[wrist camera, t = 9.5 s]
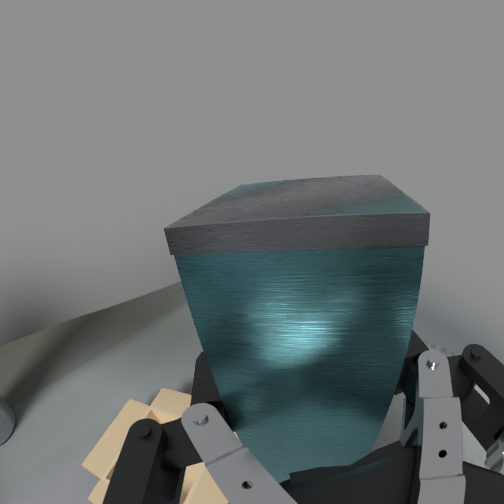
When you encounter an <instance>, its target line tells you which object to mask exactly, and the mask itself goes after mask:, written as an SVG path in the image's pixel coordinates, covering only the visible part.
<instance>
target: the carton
mask: <svg viewBox="0 0 504 504" xmlns="http://www.w3.org/2000/svg"><path fill="white" fill-rule="evenodd" d="M190 404H191V395H190V394H185V393H181V392H177V391H173V390H170V389H166V388H162V389H161V390H160V392H159V393H158V395H157V396H156V398H155V399H154V401H153V402H152V404H151V405H150V406H148V405H145V404H143V403H140V402H137V401H134V400H132V399H129V401H128V402H127V403H126V405H125V406H124V407H123V409H122V410H121V412H120V413H119V414H118V416H117V417H116V418H115V420H114V421H113V422H112V424H111V425H110V426H109V428H108V429H107V431H106V432H105V433H104V435H103V436H102V437H101V439H100V440H99V441H98V443H97V444H96V446H95V447H94V448H93V450H92V451H91V452H90V454H89V455H88V457H87V458H86V459H85V461H84V462H83V464H82V466H83V467H84V468H86V469H87V470H88V471H90V472H91V473H93V474H94V475H96V476H97V477H99V478H100V481H99V482H98V484H97V485H96V487H95V488H94V489H93V491H92V492H91V494H90V495H89V497H88V498H87V499H88V500H90V501H91V502H92V503H94V504H102V503H103V500H104V497H105V494H106V491H107V488H108V485H109V482H110V479H111V476H112V474H113V471H114V468H115V465H116V462H117V460H118V457H119V454H120V452H121V449H122V446H123V444H124V441H125V438H126V436H127V433H128V430H129V428H130V427H131V425H132V424H133V423H135V422H136V421H138V420H140V419H144V418H150V419H153V420H155V421H157V422H158V423H159V424H163V423H166V422H170V421H173V420H176V419H178V418H180V417H182V414H183V413H184V411H185V410H186V409H187V408H189V407H190ZM233 433H234V434H235V435H236V437H237V438H238V436H237V434H236V432H233ZM238 439H239V438H238ZM179 504H229V501H228V500H227V499H226V497H225V496H224V494H223V493H222V492H221V490H220V489H219V487H218V486H217V484H216V483H215V481H214V480H213V478H212V477H211V475H210V474H209V472H208V470H207V469H206V467H205V464H204V462H201V463H198V464H194V465H191V466H187V467H186V472H185V477H184V482H183V487H182V492H181V497H180V502H179Z"/></svg>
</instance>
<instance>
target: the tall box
mask: <svg viewBox="0 0 504 504" xmlns="http://www.w3.org/2000/svg"><path fill="white" fill-rule="evenodd" d="M429 223H430V213H429V212H428V211H427V210H426V209H425V208H423V207H422V206H421V205H420V204H419V203H417V202H416V201H415V200H413V199H412V198H411V197H410V196H408V195H407V194H406V193H405V192H403V191H402V190H401V189H399V188H398V187H397V186H395V185H394V184H393V183H391V182H390V181H388V180H387V179H386V178H384V177H383V176H381V175H358V176H338V177H321V178H308V179H296V180H284V181H273V182H264V183H255V184H246V185H240V186H238V187H236V188H234V189H233V190H231V191H229V192H227V193H225V194H223V195H222V196H220V197H218V198H216V199H214V200H212V201H210V202H209V203H207V204H205V205H203V206H201V207H200V208H198V209H196V210H195V211H193V212H191V213H189V214H187V215H186V216H184V217H183V218H181V219H179V220H177V221H176V222H174V223H172V224H170V225H169V226H167V227H165V228H164V231H165V235H166V239H167V243H168V246H169V251H170V254H171V255H174V256H175V260H176V264H177V268H178V271H179V275H180V278H181V282H182V285H183V289H184V292H185V295H186V299H187V302H188V305H189V308H190V311H191V315H192V318H193V321H194V324H195V327H196V330H197V333H198V336H199V339H200V342H201V345H202V347H203V350H204V353H205V356H206V359H207V362H208V364H209V367H210V370H211V372H212V375H213V378H214V380H215V383H216V386H217V388H218V391H219V393H220V396H221V398H222V401H223V403H224V406H225V408H226V411H227V413H228V415H229V418H230V420H231V422H232V425H233V427H234V429H235V432H236V434H237V436H238V438H239V441H240V442H241V443H242V444H243V445H244V446H246V447H247V448H248V449H249V450H250V451H251V452H252V454H253V455H254V456H255V457H256V459H257V460H258V461H259V462H260V463H261V464H262V466H263V467H264V468H265V469H266V470H267V471H268V473H269V474H270V475H271V476H272V477H273V478H274V479H275V480H276V481H277V483H278V484H279V483H281V482H283V481H285V480H288V479H290V475H289V473H292V472H297V471H302V470H307V469H312V468H316V467H331V466H346V465H351V464H353V463H355V462H356V461H358V460H360V459H361V458H363V457H365V456H366V455H368V454H370V451H371V449H372V447H373V445H374V443H375V441H376V438H377V436H378V434H379V431H380V429H381V427H382V424H383V422H384V419H385V417H386V414H387V412H388V409H389V406H390V404H391V401H392V398H393V395H394V392H395V389H396V386H397V383H398V380H399V377H400V374H401V370H402V367H403V363H404V360H405V356H406V352H407V349H408V345H409V341H410V336H411V332H412V327H413V322H414V318H415V313H416V308H417V302H418V296H419V290H420V283H421V276H422V268H423V259H424V248H425V246H428V239H429Z"/></svg>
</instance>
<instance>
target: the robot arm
mask: <svg viewBox="0 0 504 504" xmlns="http://www.w3.org/2000/svg"><path fill="white" fill-rule="evenodd" d="M476 384H477V385H478V387H479V388H480V389H481V390H482V391H483V392H484V393H485V394H486V395H487V396H488V398H489V400H490V404H488V403H487V402H486V400H485V399H484V398H483V397H482V396H481V395H480V394H479V393H478V392H477V391H476V390H475V389H474V387H475V385H476ZM402 392H404V394H405V398H404V403H403V417H402V428H401V435H400V439H399V441H397V442H394V443H392V444H389V445H387V446H384V447H382V448H379V449H377V450H374V451H373V452H371V453H370V454H368V455H366V456H365V457H363V458H361V459H360V460H358V461H356V462H355V463H353V464H351V465H346V466H331V467H316V468H312V469H307V470H302V471H297V472H292V473H289V475H290V479H288V480H285V481H283V482H281V483H279V484H278V483H277V481H276V480H275V479H274V478H273V477H272V476H271V475H270V474H269V473H268V471H267V470H266V469H265V468H264V467H263V466H262V464H261V463H260V462H259V461H258V460H257V459H256V457H255V456H254V455H253V454H252V452H251V451H250V450H249V449H248V448H247V447H246V446H244V445H243V444H242V443H241V442H240V441H239V439H238V438H237V437H236V435H235V434H234V433H233V432H235V429H234V427H233V425H232V422H231V420H230V418H229V415H228V413H227V411H226V408H225V406H224V403H223V401H222V398H221V396H220V393H219V391H218V388H217V386H216V383H215V380H214V378H213V375H212V372H211V370H210V367H209V364H208V362H207V359H206V356H205V353H204V352H201V354H200V355H199V357H198V358H197V360H196V364H195V372H194V379H193V387H192V395H191V404H190V407H189V408H187V409H186V410H185V411H184V413H183V414H182V417H180V418H178V419H176V420H173V421H170V422H166V423H163V424H159V423H158V422H157V421H155V420H153V419H150V418H144V419H140V420H138V421H136V422H135V423H133V424H132V425H131V427H130V428H129V430H128V433H127V436H126V438H125V441H124V444H123V446H122V449H121V452H120V454H119V457H118V460H117V462H116V465H115V468H114V471H113V474H112V476H111V479H110V482H109V485H108V488H107V491H106V494H105V497H104V500H103V503H102V504H179V502H180V497H181V492H182V487H183V482H184V477H185V472H186V467H187V466H191V465H194V464H198V463H201V462H204V464H205V467H206V469H207V470H208V472H209V474H210V475H211V477H212V478H213V480H214V481H215V483H216V484H217V486H218V487H219V489H220V490H221V492H222V493H223V494H224V496H225V497H226V499H227V500H228V501H229V503H230V504H504V365H503V364H502V363H501V362H500V361H498V360H497V359H496V358H495V357H494V356H493V355H492V354H491V353H489V352H488V351H487V350H486V349H485V348H484V347H482V346H480V345H477V344H471V345H468V346H466V347H465V348H464V350H463V353H462V355H458V356H451V357H446V356H445V355H444V354H443V353H442V352H440V351H437V350H429V349H428V347H427V346H426V345H425V344H424V343H423V341H422V340H421V339H420V338H419V337H418V335H417V334H416V333H415V332H413V330H412V332H411V336H410V341H409V345H408V349H407V352H406V356H405V360H404V363H403V367H402V370H401V374H400V377H399V380H398V383H397V386H396V389H395V392H394V394H395V395H397V394H399V393H402ZM462 421H463V423H464V424H465V425H466V426H467V428H468V429H469V430H470V431H471V433H472V434H473V435H474V436H475V438H476V439H477V440H478V441H479V443H480V444H481V445H482V447H483V448H484V449H485V451H486V452H487V454H486V460H485V466H486V467H487V468H490V469H486V468H483V467H480V466H477V465H473V464H470V463H467V462H465V461H462V459H463V440H462ZM14 426H15V414H14V412H13V410H12V409H11V408H10V407H9V405H8V404H7V403H6V402H5V401H4V399H3V398H2V397H1V396H0V445H1V444H2V443H4V442H5V441H6V440H7V439H8V438H9V436H10V435H11V433H12V431H13V429H14Z"/></svg>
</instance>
